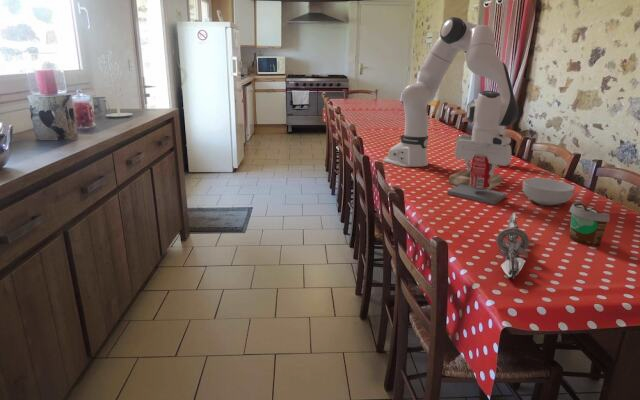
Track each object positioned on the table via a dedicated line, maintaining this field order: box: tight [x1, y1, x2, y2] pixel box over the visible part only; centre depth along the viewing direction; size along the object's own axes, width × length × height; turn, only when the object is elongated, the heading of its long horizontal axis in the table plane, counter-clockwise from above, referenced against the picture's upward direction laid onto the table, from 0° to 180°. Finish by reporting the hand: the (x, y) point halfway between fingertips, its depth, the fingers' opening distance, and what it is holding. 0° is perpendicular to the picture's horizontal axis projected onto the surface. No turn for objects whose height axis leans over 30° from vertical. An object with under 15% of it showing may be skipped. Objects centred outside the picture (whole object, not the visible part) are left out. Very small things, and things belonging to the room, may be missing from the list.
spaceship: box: [496, 212, 530, 280], centre depth 115 cm, size 8×35×8 cm
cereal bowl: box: [522, 177, 575, 206], centre depth 157 cm, size 17×17×7 cm
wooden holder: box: [448, 168, 503, 190], centre depth 180 cm, size 16×16×4 cm
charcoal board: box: [447, 184, 507, 205], centre depth 165 cm, size 18×12×2 cm, turn 49°
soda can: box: [470, 155, 493, 190], centre depth 162 cm, size 7×7×13 cm
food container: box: [569, 200, 611, 247], centre depth 124 cm, size 12×6×10 cm, turn 5°
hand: (479, 173), depth 162 cm, fingers closed on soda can, 6 cm apart
